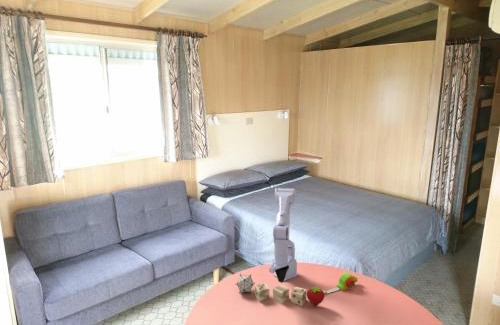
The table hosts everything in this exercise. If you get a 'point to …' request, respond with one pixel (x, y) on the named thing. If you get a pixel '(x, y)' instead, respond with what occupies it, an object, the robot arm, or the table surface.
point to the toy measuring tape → (344, 283)
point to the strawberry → (315, 296)
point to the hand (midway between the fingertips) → (281, 281)
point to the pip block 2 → (298, 296)
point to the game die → (245, 283)
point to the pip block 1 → (262, 292)
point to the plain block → (281, 293)
